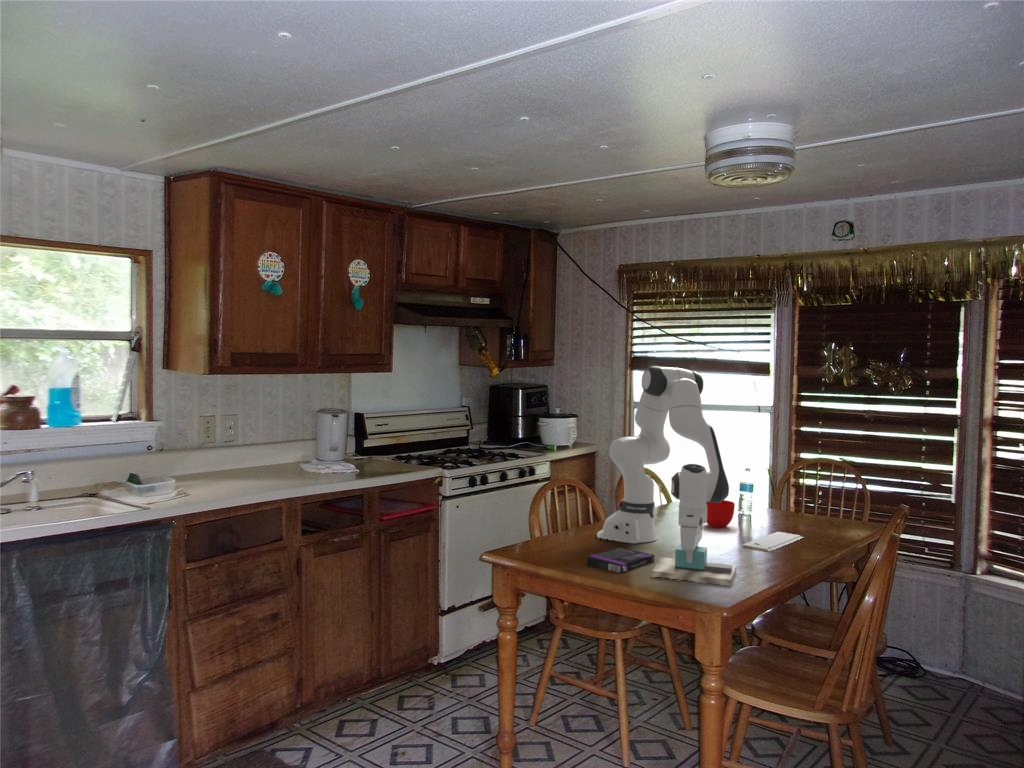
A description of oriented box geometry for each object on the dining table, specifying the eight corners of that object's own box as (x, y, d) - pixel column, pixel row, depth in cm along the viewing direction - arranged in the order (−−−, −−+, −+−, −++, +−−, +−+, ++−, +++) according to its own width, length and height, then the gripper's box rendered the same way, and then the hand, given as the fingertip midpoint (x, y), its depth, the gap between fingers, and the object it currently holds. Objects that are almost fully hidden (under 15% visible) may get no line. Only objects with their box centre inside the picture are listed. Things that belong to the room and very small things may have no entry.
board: (651, 577, 249) (651, 570, 249) (662, 563, 266) (662, 557, 266) (730, 586, 241) (730, 579, 241) (736, 571, 257) (736, 565, 257)
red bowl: (729, 521, 335) (730, 498, 334) (736, 530, 318) (737, 506, 317) (698, 520, 336) (698, 497, 336) (703, 529, 319) (704, 504, 319)
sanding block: (674, 568, 252) (675, 549, 252) (678, 563, 258) (678, 544, 258) (703, 571, 249) (704, 552, 249) (706, 566, 255) (707, 547, 255)
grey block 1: (704, 570, 250) (704, 565, 250) (706, 567, 254) (706, 562, 254) (717, 572, 249) (717, 567, 249) (718, 569, 253) (719, 564, 252)
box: (620, 576, 253) (655, 563, 267) (620, 565, 253) (655, 553, 267) (586, 566, 263) (621, 555, 277) (586, 556, 263) (621, 545, 277)
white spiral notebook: (807, 540, 306) (777, 535, 314) (808, 532, 306) (777, 528, 314) (773, 554, 283) (742, 548, 291) (773, 546, 283) (742, 540, 291)
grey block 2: (717, 572, 249) (717, 567, 249) (718, 569, 253) (719, 564, 252) (730, 573, 247) (730, 568, 247) (731, 570, 251) (732, 565, 251)
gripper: (687, 509, 264) (686, 550, 264) (677, 521, 245) (676, 565, 245) (707, 511, 261) (706, 552, 262) (698, 523, 242) (697, 567, 243)
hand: (691, 559), depth 253 cm, fingers closed on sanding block, 7 cm apart
